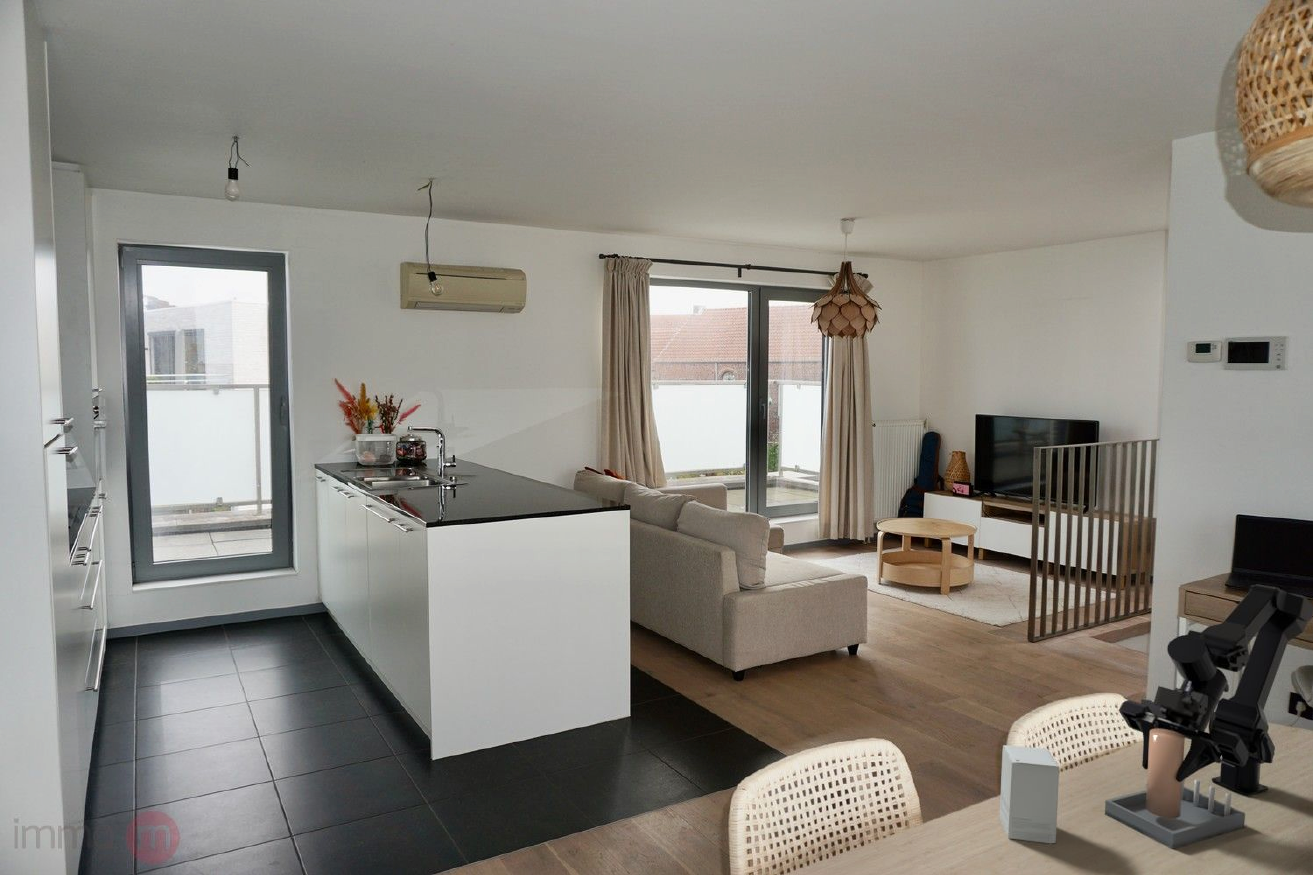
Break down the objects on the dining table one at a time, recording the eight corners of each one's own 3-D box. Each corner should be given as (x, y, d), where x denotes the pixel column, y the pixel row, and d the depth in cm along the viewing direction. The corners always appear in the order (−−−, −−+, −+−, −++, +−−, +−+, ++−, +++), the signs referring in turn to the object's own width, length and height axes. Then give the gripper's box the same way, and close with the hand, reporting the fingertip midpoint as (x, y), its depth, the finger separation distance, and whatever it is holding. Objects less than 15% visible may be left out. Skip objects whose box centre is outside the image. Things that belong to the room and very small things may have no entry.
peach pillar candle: (1149, 800, 148) (1153, 726, 147) (1183, 810, 144) (1187, 734, 143) (1142, 811, 144) (1146, 734, 143) (1176, 821, 140) (1181, 743, 140)
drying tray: (1175, 795, 154) (1176, 768, 154) (1244, 827, 144) (1246, 797, 143) (1104, 813, 147) (1106, 785, 147) (1172, 848, 136) (1174, 817, 136)
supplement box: (1056, 844, 137) (1060, 766, 136) (1007, 839, 138) (1010, 761, 137) (1045, 822, 144) (1049, 747, 143) (998, 816, 145) (1001, 743, 145)
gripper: (1127, 654, 153) (1088, 727, 147) (1244, 686, 137) (1205, 769, 132) (1149, 690, 157) (1112, 762, 152) (1264, 725, 142) (1228, 807, 136)
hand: (1160, 773), depth 143 cm, fingers closed on peach pillar candle, 5 cm apart
